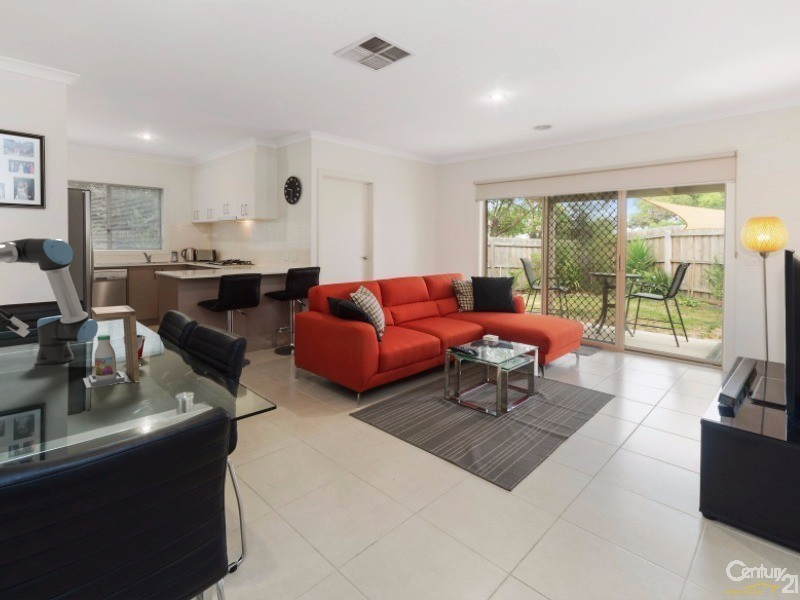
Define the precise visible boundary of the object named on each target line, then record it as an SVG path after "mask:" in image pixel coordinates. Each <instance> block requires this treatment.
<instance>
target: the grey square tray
mask: <svg viewBox="0 0 800 600" xmlns="http://www.w3.org/2000/svg"><path fill="white" fill-rule="evenodd" d="M116 372H117V378H113V379H106V380H100V381H97V380H96V374H91V375H88V377H83V378H82V381H83V383H84V386H85V389H86V390H89V389H95V388H96V387H97V388H102V387H101V386H103V387H106V386H105V385H109V386H111V385H110V384H115V383H120V382H127V381H131V382H132V379H131V378H129V377H130V376H129V375H128V374H127V372H125V371H124V372H122V371H121V370H116ZM127 383H128V382H127ZM115 385H116V384H115Z"/></svg>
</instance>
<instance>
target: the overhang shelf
mask: <svg viewBox="0 0 800 600" xmlns="http://www.w3.org/2000/svg"><path fill="white" fill-rule="evenodd" d="M90 311H91V314H93V316H94V317H95V318H96V319H106V318H107V319H108V318H121V317H122V322H123V337H124V339H123V341H124V340H125V344H124V351H125V353H124V354H125V368H126V369H125V370H126V372H125V373H126V374H127V375H128V374H129V375H130V376H129V375H128V376H129V377H130V379H131V378H132V379H133V380H134V381H140V369H139V368H140V366H139V364H140V363H139V359H138V346H137V335H138V333H137V332H138V331H137V313H136V310H134V308H131V306H129V305H116V306H101V307H99V306H98V307H91V308H90ZM132 379H131V380H132ZM133 380H132V381H133ZM134 381H133V382H134Z"/></svg>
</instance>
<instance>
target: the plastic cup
mask: <svg viewBox="0 0 800 600" xmlns="http://www.w3.org/2000/svg"><path fill="white" fill-rule="evenodd" d="M141 335H142V346H141V348H140V349H139V350H138V358H140V357H143V352H144V345H145V340H146V338H147V336H146V335H143V334H141ZM122 339H123V340H124V336H122ZM140 359H141V358H140Z"/></svg>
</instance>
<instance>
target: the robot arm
mask: <svg viewBox="0 0 800 600" xmlns="http://www.w3.org/2000/svg"><path fill="white" fill-rule="evenodd" d="M73 256H74V252H73V248H72V247H71V245H70V244H69V243H68V242H66V241H64V240H63V239H59V238H52V237H51V238H33V237H31V238H22V239H16V240H10V241H2V242H0V263H6V264H12V263H23V264H24V263H25V264H38V267H39V269H40V271H42V272H44V273H45V274H46V276H47V278H48V279H47V280H48V282H49V285H50V287H51V290H52V291H53V295H54V298H55V300H56V303H57V305H58V308H59V311H60V314H61V315H54V316H47V317H42V318H39V319H37V322H36V323H37V324H36V326H37V327H36V328H37V336H38V337H37V338H38V344H39V345H38V346H39V348H38V351H37V355H36V357H35V363H36V364H37V363H39V364H38V365H42V364H46V365H56V364H55V363H58V364H63V363H67V362H71V361H72V360H74V359H75V358H74V353H73V352H72V349H71V347H70V345H69V342H74V343H75V342H77V343H87V342H88V343H89V342H91V341H92V340H93V339H94V338H96V335H97V333H98V331H99V325H98V322H97V320H95V319H93V318H90V316H89V314H88V312H86V311H83V306H82V304H81V302H80V299H79V296H78V293H77V290H76V287H75V285H74V282H73V279H72V278H73V277H72V276H71V273H70V271H69V267H70V266H71V262H72V261H73V258H74V257H73ZM0 325H1V327H2V328H3V329H9V330H10V331H12V332H14V333H16V334H18V335H19V336H20V337H23V338H25V337H26V336H27V335H28V334H29V333H31V331H30V330H28V328H29V327H30V325H28V324H27V323H25V322H23V321H22V320H20V319H18V318H17V317H16V316H15V314H14V313H10V312H8V311H6V310H4V309H2V308H1V307H0ZM62 362H63V363H62Z"/></svg>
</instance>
